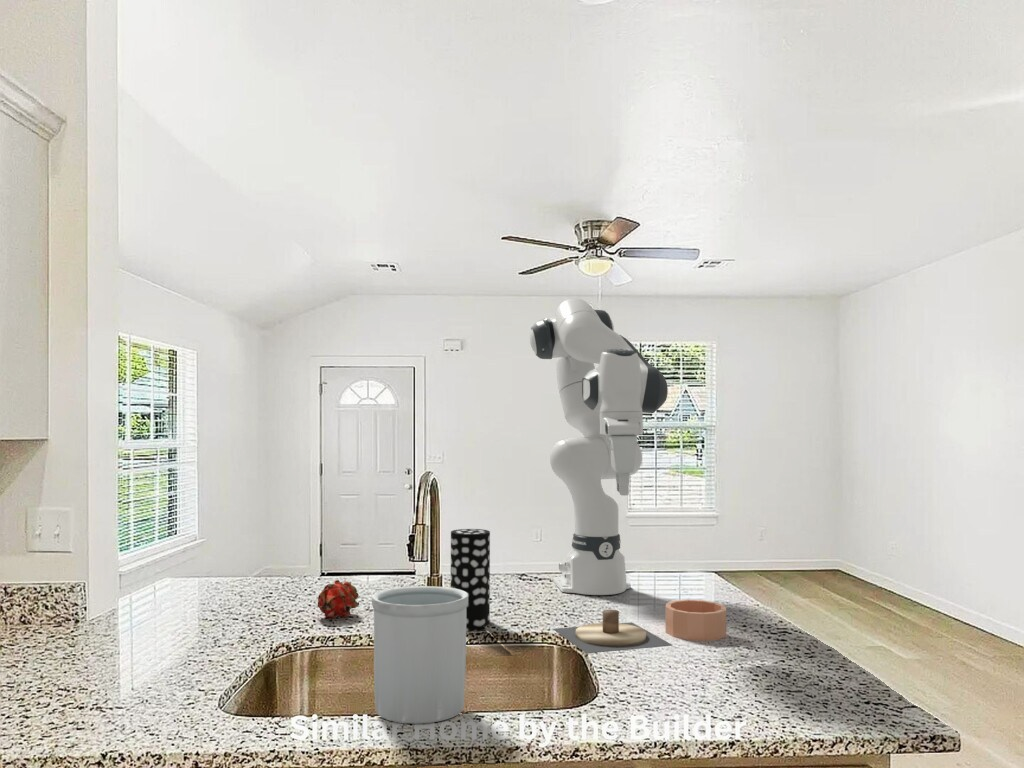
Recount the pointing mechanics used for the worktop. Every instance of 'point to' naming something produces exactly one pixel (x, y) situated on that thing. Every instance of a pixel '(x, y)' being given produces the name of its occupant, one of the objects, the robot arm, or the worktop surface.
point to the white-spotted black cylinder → (472, 573)
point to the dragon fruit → (338, 599)
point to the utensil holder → (419, 653)
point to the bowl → (696, 620)
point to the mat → (590, 648)
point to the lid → (610, 632)
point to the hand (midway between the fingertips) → (622, 493)
